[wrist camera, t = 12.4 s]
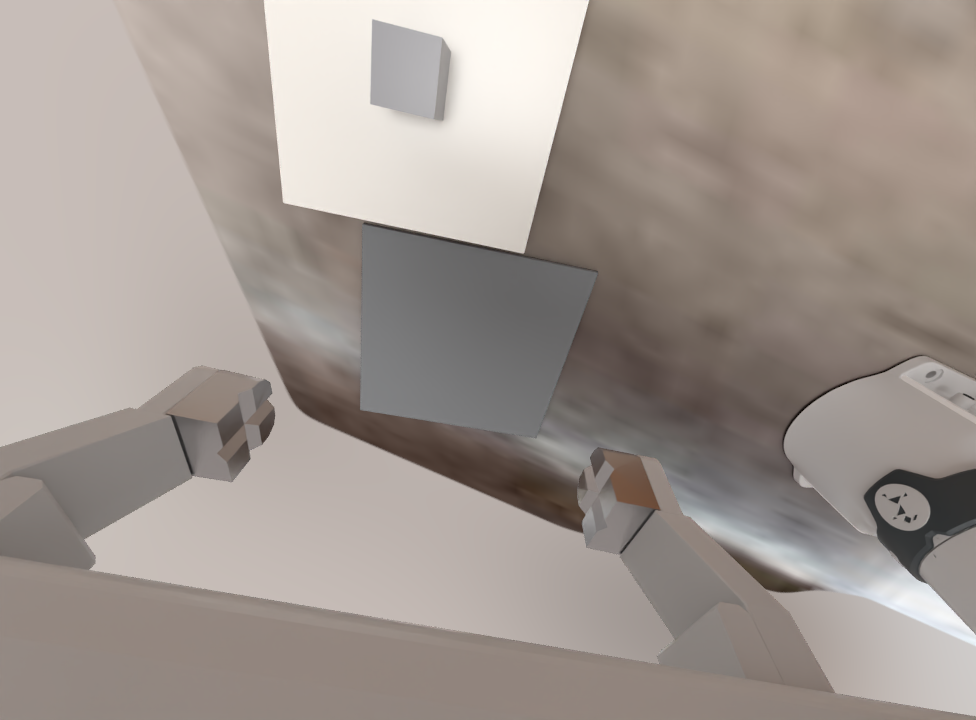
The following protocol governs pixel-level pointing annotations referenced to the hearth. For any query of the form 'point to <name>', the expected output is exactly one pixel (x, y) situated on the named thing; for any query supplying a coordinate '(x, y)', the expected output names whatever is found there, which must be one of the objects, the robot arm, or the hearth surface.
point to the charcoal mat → (464, 330)
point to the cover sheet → (412, 149)
